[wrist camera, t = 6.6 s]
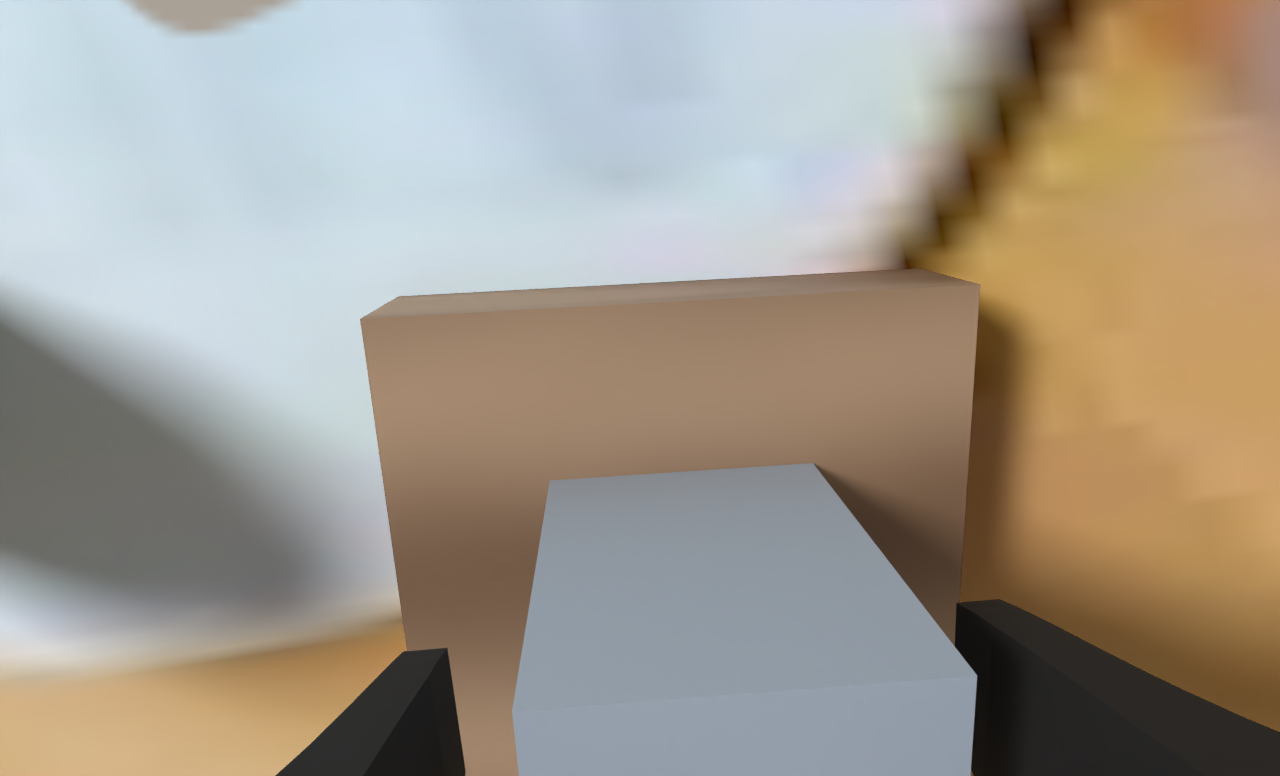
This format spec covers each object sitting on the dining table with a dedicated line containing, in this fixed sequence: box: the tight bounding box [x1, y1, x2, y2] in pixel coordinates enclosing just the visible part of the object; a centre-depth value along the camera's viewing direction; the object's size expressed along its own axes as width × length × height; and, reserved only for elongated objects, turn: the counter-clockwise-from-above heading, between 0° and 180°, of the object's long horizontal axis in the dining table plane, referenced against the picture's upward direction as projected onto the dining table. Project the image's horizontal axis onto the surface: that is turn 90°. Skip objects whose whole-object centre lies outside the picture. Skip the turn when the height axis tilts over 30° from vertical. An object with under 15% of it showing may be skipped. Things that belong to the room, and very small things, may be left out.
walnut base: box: [360, 268, 980, 776], centre depth 15 cm, size 10×10×3 cm
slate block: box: [512, 463, 977, 776], centre depth 11 cm, size 4×4×6 cm
